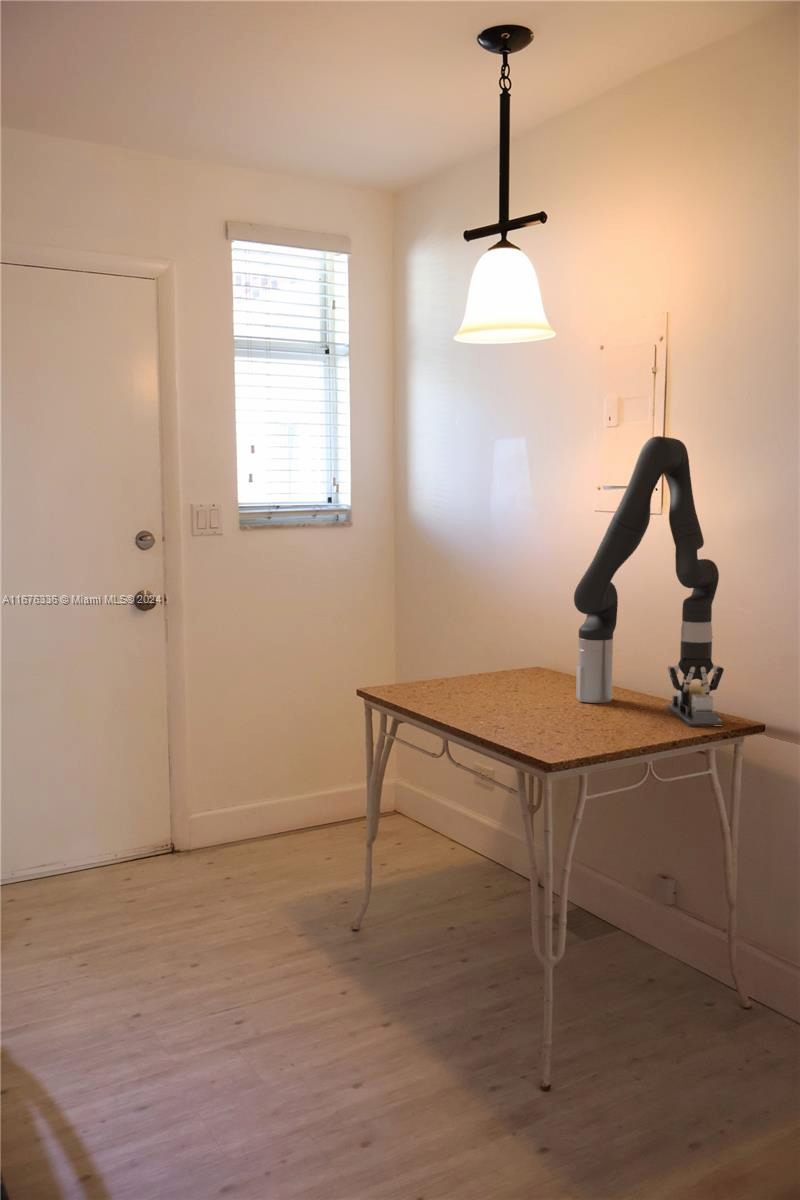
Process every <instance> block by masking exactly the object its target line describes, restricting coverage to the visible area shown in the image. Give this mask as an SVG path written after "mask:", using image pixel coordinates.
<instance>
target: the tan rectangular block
mask: <svg viewBox="0 0 800 1200" xmlns="http://www.w3.org/2000/svg"><path fill="white" fill-rule="evenodd" d="M705 690H706V687H705V686H703V685H701V683H691V684H690V685H689V688H688V691H687V692H688V706H691V703H692V694H705ZM685 708H686V707H685Z"/></svg>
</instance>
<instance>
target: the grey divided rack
mask: <svg viewBox="0 0 800 1200" xmlns="http://www.w3.org/2000/svg"><path fill="white" fill-rule="evenodd" d="M679 684H680V685H682V683H679ZM676 691H677V695H674V694H673V695H672V696H671V698H672V699H671V702H667V705H666V707H667V708H666V709H667V710H669V711H670V712H671V713H673V715H675V716H676V718H678V719H679V720H681V721H682V722H683V723H684V724H685V723H686V724H685V725H687V726H688V727H689V728H694V727H693V726H714V725H724V721H723V719H722V718H720V717H719V712H718V711H713V707H714V705H713V704H714V702H713V701H714V698H713V696H711V695H710V694H709V695H708V694H692V703H691V706H686V708H685V707H684V706H683V704H682V703H681V691H679V690H676ZM690 726H692V727H690Z"/></svg>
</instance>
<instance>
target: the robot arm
mask: <svg viewBox="0 0 800 1200" xmlns="http://www.w3.org/2000/svg"><path fill="white" fill-rule="evenodd" d="M662 476H664V477H665V480H666V483H667V485H668V490H669V499H670V500H669V509H668V510H669V511H668V521H669V528H670V532H671V535H672V540H673V543H674V545H675V553H674V554H675V555H674V556H675V557H674V558H675V573H676V577H677V579H678V581H679V583H680V584H681V586H682V587H684V588H687V589H692V592H691V594H690V596H688V597H686V598H685V599H684V600H683V602H682V609H681V610H682V611H681V612H682V614H681V620H682V621H681V627H680V658H679V659H680V660H679V662H678V664H676V665H673V666H670V665H669V666H668V667H667V671H668V674H669V677H670V680H671V684H672V685H673V686H672V687H673V688H674V689H675V690H676V691H677V690H679V691H681V703H682V704H683V706H684V707H686V706H688V692H687V691H688V688H689V685H690V684H692V680H699V682H700V684H701V685H703V686H705V687H706V690H705V694H708V695H710V693H711V691H716V690H717V689H718V686H719V685H720V681H721V679H722V676H723V673H724V668H723V667H722V666H720V665H715V664H714V662H713V661H712V657H713V656H712V655H713V654H712V653H713V651H712V650H713V649H712V648H713V646H712V645H713V637H714V636H713V625H712V624H713V623H712V619H713V618H712V617H713V616H712V613H713V611H712V609H713V607H712V606H713V602H714V598H715V596H716V593H717V589H718V585H719V580H720V575H719V574H720V573H719V569H718V566H717V564H716V563H715V562H714V561H713V560H711V559H710V558H709V559H708V558H700V559H698V550H700V549H701V548H703V547H704V544H705V541H704V537H703V532H702V529H701V525H700V522H699V518H698V514H697V510H696V506H695V501H694V500H695V499H694V495H693V485H692V479H691V468H690V458H689V452H688V449H687V447H686V445H685V443H684V442H683V441H682V440H680V439H677V438H673V437H668V436H661V435H660V436H659V435H658V436H653V437H651V438H650V439H648V440H647V441H646V442H645V443H644V445H643V446H642V448H641V450H640V452H639V455H638V458H637V460H636V463H635V466H634V470H633V472H632V475H631V478H630V480H629V483H628V485H627V487H626V489H625V491H624V494H623V495H622V498H621V501H620V502H619V504H618V507H617V508H616V510H615V512H614V514H613V516H612V518H611V521H610V523H609V525H608V527H607V530H606V532H605V534H604V536H603V539H602V540H601V542H600V544H599V546H598V549H597V550H596V553H595V555H594V556H593V559H592V561H591V563H590V564H589V566H588V568H587V569H586V571H585V572H584V574H583V576H582V578H581V579H580V581H579V583H578V584H577V586H576V588H575V591H574V594H573V603H574V606H575V608H576V610H577V611H578V612H579V613H581V614H584V615H586V618H585V621H584V623H583V624H582V625H581V626H580V627H579V629H578V649H577V650H578V654H577V655H578V657H577V659H578V661H577V662H578V663H576V676H575V677H576V678H575V679H576V681H575V683H576V684H575V685H576V687H575V689H576V690H575V692H576V693H575V698H576V699H577V701H578V702H580V703H589V704H604V703H605V704H606V703H610V702H612V701H613V700H612V699H613V660H614V659H613V654H614V653H613V650H614V649H613V648H614V632H615V630H616V627H617V620H618V619H617V618H618V605H619V604H618V602H619V601H618V600H619V598H618V596H619V595H618V591H617V588H616V586H615V585H614V583H613V582H612V580H613V577H614V576H615V574H616V573H617V571H618V570H619V569H620V568H621V567H622V566H623V565H624V563H625V562H626V561H627V560H628V559H629V558H630V557H631V556H632V555H633V553H634V552H635V551H636V550H637V549H638V547H639V545H640V544H641V541H642V540H643V538H644V536H645V533H646V531H647V529H648V527H649V524H650V520H651V502H652V496H653V494H654V490H655V488H656V486H657V484H658V482H659V481H660V479H661V477H662ZM679 670H680V671H681V672H682V675H683V676H682V680H681V681H682V682H681V683H680V681H679V677H678V674H679ZM711 671H712V674H713V675H712V678H711V680H710V683H709V679H708V675H709V674H710V673H711ZM680 684H682V685H680Z"/></svg>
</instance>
